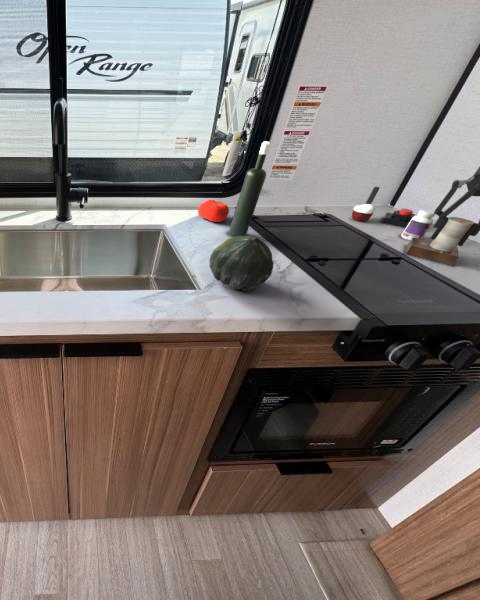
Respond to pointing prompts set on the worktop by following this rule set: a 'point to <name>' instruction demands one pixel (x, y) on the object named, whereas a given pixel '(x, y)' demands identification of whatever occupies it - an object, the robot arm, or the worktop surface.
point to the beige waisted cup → (451, 234)
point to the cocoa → (365, 208)
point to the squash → (242, 262)
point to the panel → (431, 252)
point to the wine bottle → (249, 195)
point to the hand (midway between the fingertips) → (446, 241)
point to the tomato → (213, 210)
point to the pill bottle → (418, 225)
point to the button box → (397, 219)
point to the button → (406, 212)
